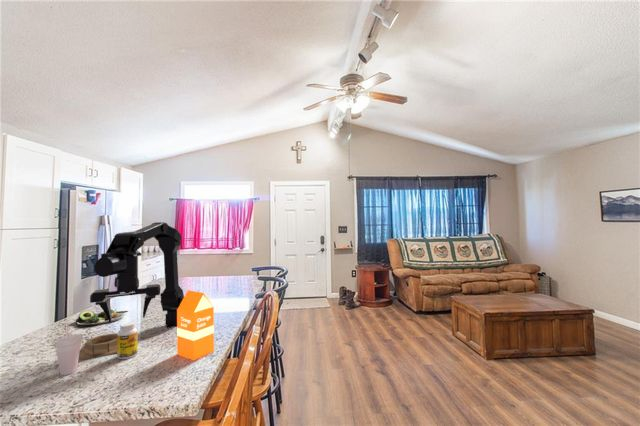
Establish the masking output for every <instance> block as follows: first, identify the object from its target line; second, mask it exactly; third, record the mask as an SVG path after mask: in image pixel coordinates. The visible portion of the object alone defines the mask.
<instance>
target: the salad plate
mask: <svg viewBox="0 0 640 426" xmlns="http://www.w3.org/2000/svg"><path fill="white" fill-rule="evenodd" d="M116 310H117V309H115V310H113V309H111V315H112V321H111V322H109V320H108V318H107V316H106V314H105V312H104V311H103V310H102V311H101V312H100V313H95V312H94V311H92V310H83V311H81V312H80V313H79V314H78V317H77V318H76V320H75V324H76V326H77V327H78V328H91V327H96V326H100V325H105V324H110V323H113V322H117V321H120V320H121V319H123V318H124V315H123V314H125V313H128V312H129V310H120V311H119V310H118V311H116Z"/></svg>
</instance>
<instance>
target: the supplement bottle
mask: <svg viewBox="0 0 640 426" xmlns="http://www.w3.org/2000/svg"><path fill="white" fill-rule="evenodd" d="M119 329H120V330H118V332H117V333H116V334H117V353H116V357H117V359H119V360H127V359H131V358H133V357H135V356H136V355H137V354H138V343H139V342H138V341H139V340H138V337H139V335H138V332H139V331H138V328H136V324H135V322H133V321H131V322H125V323H122V324H120V328H119Z"/></svg>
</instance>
